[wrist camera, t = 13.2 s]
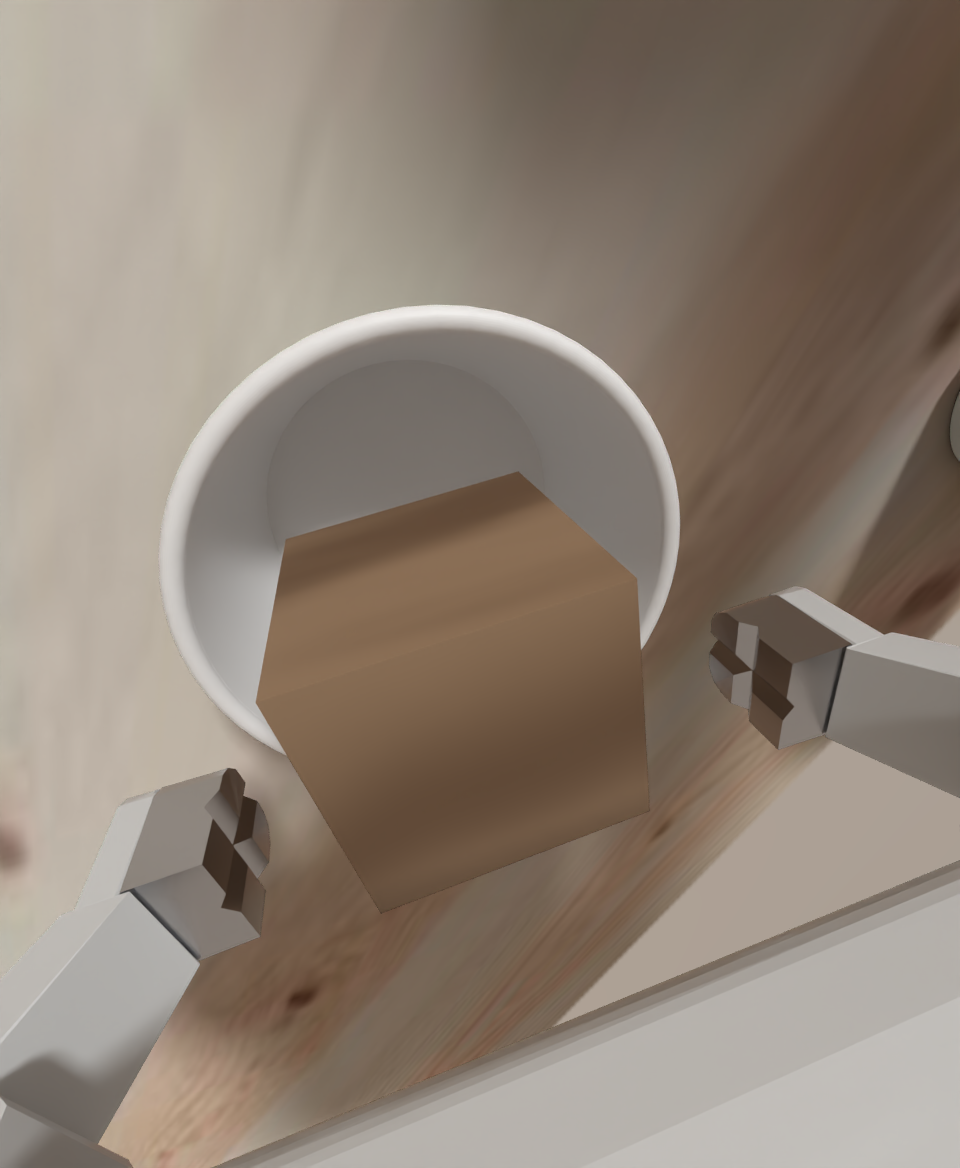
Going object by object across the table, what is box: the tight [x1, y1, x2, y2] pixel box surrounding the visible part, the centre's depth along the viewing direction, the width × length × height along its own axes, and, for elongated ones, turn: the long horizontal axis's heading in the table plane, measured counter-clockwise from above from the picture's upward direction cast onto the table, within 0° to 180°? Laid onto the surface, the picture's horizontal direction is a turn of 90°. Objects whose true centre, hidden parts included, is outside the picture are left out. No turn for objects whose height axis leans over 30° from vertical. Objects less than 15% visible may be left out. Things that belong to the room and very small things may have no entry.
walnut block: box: [256, 471, 650, 913], centre depth 10 cm, size 5×5×5 cm
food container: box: [158, 305, 680, 756], centre depth 15 cm, size 12×12×6 cm
